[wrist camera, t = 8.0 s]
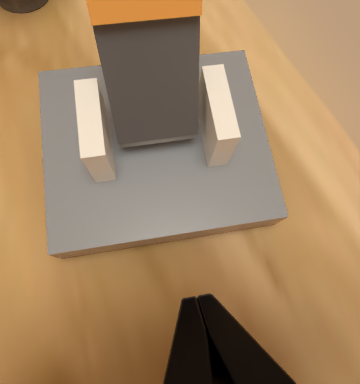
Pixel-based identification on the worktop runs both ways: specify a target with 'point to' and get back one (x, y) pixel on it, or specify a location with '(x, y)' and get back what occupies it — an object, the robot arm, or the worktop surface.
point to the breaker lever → (150, 67)
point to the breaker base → (154, 165)
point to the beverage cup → (22, 5)
